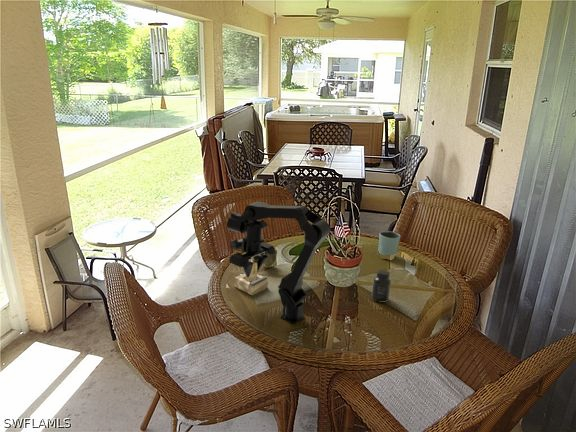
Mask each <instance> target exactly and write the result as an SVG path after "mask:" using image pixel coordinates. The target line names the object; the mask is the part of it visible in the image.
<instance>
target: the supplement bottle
mask: <svg viewBox="0 0 576 432" xmlns="http://www.w3.org/2000/svg"><path fill="white" fill-rule="evenodd" d="M391 285H392V281H391V279H390V271H389V270H386V269H378V270H377V272H376V276H374V278H373V281H372V286H371V287H372V289H371V295H372V298H373V299H374V300H376V301H386V300H388V301H389V298H390V297H389V296H390V291H391ZM372 298H371V299H372ZM373 299H372V300H373ZM374 300H373V301H374ZM376 301H375V302H376Z"/></svg>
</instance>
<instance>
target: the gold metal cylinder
mask: <svg viewBox="0 0 576 432" xmlns="http://www.w3.org/2000/svg"><path fill="white" fill-rule="evenodd" d="M251 262H253V267H252V270H251V273H250V276H249V277H247V276H246V280H248V281H255V280H256V279H257V274H258V272H257V265H258V261H257V260H254V258H253V259H252V258H251Z"/></svg>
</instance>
